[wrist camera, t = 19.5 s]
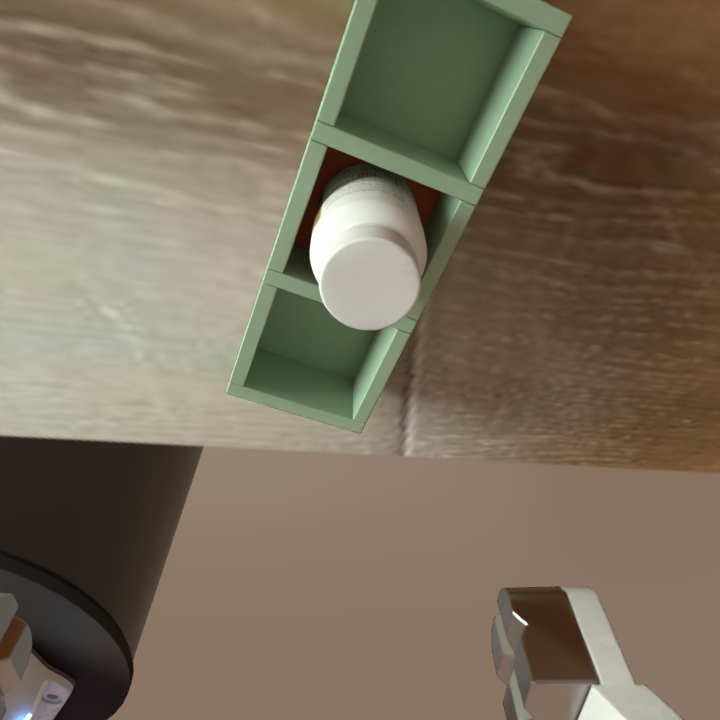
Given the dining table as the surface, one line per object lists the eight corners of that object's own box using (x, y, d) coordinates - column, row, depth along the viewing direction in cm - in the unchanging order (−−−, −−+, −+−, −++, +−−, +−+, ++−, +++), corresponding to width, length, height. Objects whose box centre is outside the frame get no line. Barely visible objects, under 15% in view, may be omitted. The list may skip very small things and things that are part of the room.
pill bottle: (297, 194, 25) (277, 266, 19) (385, 141, 24) (396, 197, 18) (349, 274, 27) (347, 363, 21) (432, 228, 26) (458, 308, 20)
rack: (360, 386, 32) (360, 434, 28) (239, 348, 30) (225, 394, 27) (540, 11, 22) (574, 16, 19) (377, -69, 21) (382, -80, 18)
